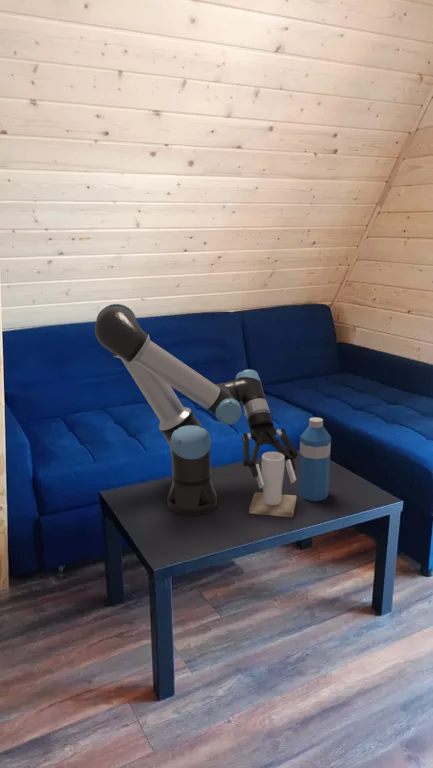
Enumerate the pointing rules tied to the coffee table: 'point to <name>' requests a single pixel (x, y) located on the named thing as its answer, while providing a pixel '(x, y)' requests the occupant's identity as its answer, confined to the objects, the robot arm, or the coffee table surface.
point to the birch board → (273, 506)
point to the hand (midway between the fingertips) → (277, 484)
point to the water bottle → (314, 461)
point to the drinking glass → (272, 477)
